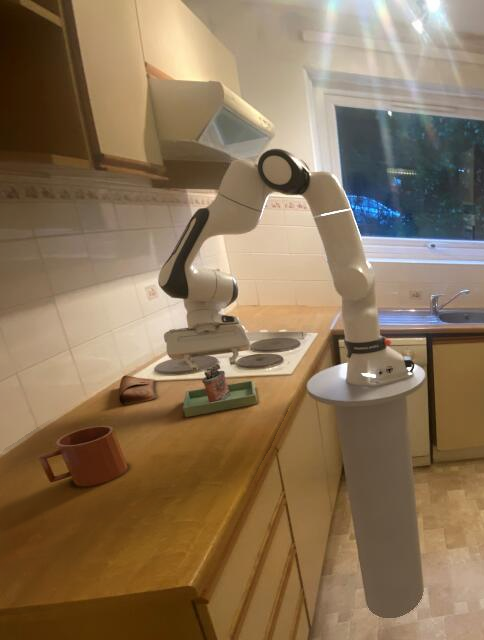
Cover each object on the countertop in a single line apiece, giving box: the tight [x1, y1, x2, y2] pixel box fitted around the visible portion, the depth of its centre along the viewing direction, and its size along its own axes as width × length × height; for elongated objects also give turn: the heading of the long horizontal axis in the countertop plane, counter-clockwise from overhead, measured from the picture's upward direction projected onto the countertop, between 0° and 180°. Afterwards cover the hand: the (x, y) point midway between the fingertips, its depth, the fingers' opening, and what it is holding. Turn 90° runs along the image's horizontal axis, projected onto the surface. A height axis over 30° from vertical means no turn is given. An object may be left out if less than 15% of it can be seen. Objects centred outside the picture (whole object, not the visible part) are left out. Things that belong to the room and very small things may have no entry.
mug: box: [37, 425, 128, 487], centre depth 90 cm, size 12×9×10 cm
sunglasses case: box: [118, 374, 157, 406], centre depth 131 cm, size 18×7×7 cm
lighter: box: [201, 363, 230, 403], centre depth 125 cm, size 8×3×10 cm, turn 4°
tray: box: [182, 380, 258, 418], centre depth 126 cm, size 17×13×3 cm
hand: (214, 366), depth 125 cm, fingers open, 8 cm apart
